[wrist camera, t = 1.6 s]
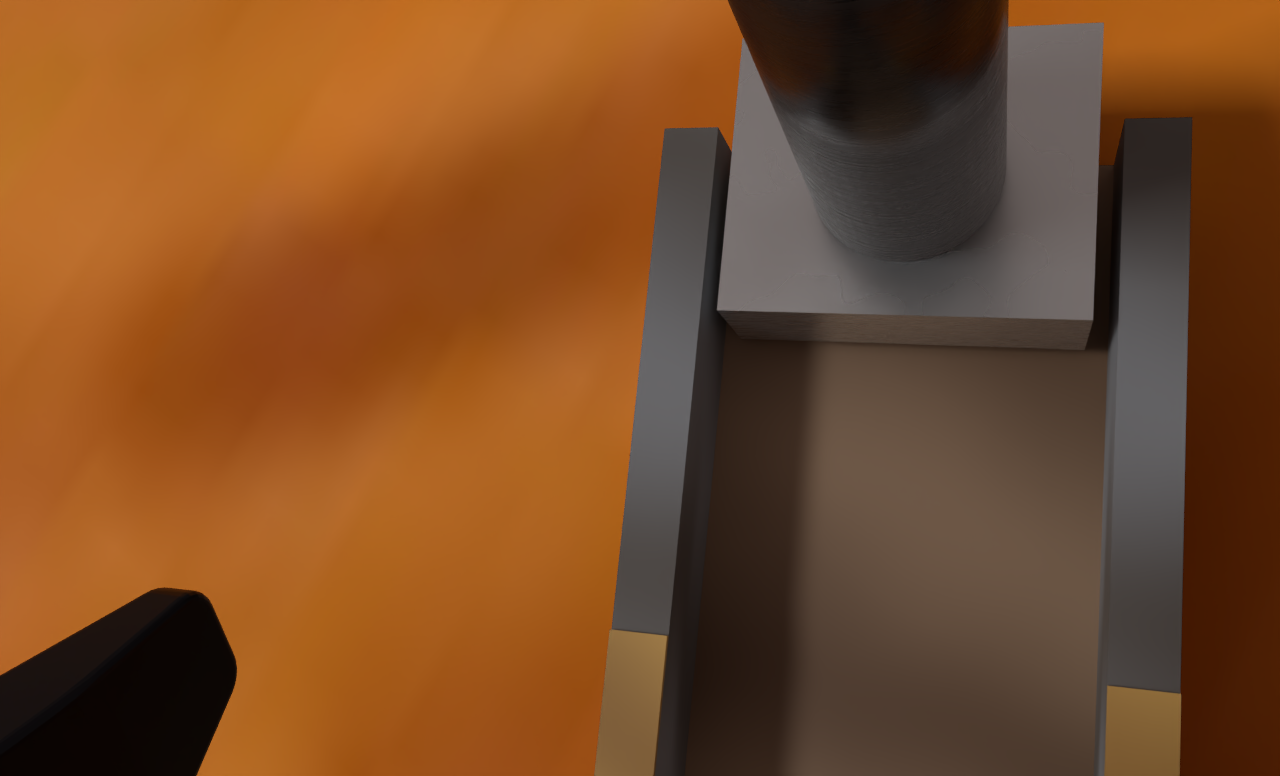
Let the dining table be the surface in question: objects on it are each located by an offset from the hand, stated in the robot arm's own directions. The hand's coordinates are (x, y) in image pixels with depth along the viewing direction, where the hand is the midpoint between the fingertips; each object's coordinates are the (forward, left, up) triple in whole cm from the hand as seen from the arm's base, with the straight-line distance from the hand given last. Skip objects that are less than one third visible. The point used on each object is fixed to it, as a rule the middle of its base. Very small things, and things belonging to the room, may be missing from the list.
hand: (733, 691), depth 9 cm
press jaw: (+6, -5, -12) cm, 15 cm away
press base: (-1, +1, -14) cm, 14 cm away
